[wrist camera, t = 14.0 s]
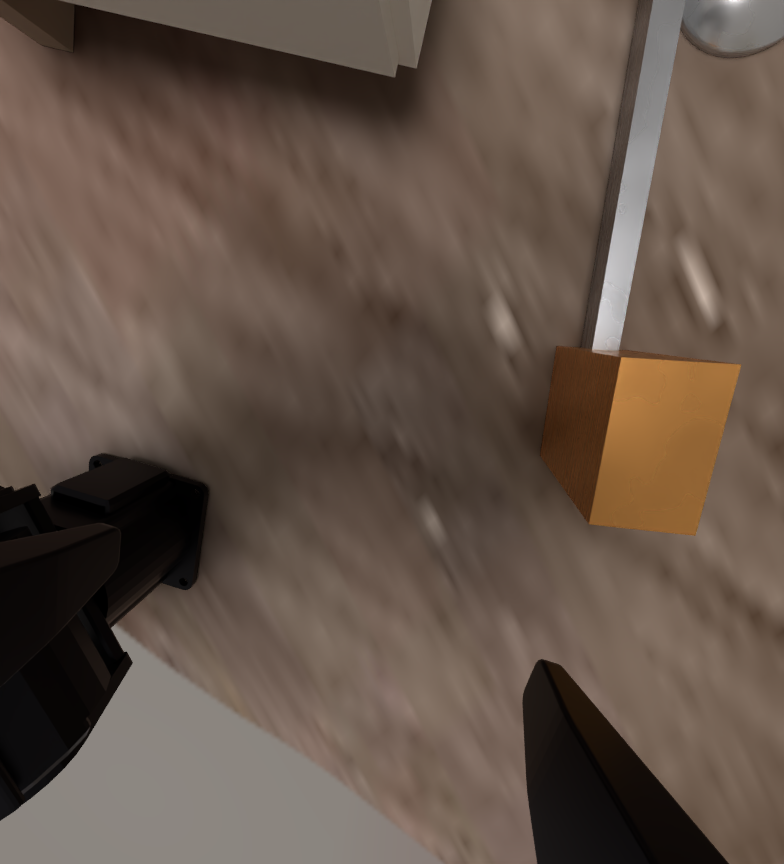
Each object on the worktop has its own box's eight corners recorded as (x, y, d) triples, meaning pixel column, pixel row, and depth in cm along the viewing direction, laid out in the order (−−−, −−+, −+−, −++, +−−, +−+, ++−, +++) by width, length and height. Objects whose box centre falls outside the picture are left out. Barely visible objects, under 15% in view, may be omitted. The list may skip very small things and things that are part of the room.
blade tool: (607, 461, 19) (695, 535, 12) (540, 455, 19) (589, 524, 12) (719, -105, 14) (977, -517, 7) (624, -99, 14) (784, -487, 7)
